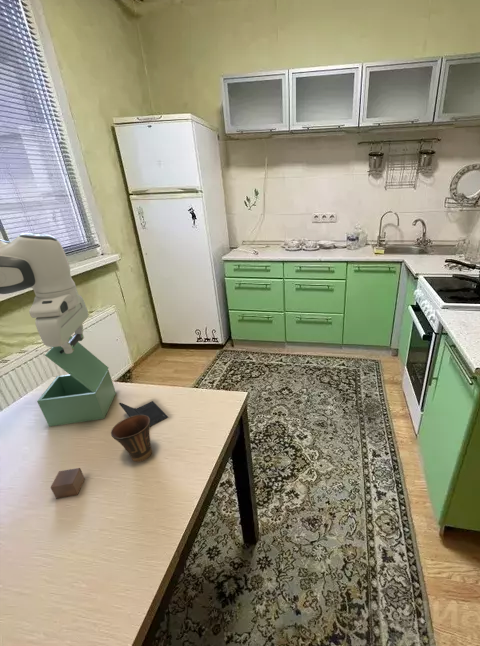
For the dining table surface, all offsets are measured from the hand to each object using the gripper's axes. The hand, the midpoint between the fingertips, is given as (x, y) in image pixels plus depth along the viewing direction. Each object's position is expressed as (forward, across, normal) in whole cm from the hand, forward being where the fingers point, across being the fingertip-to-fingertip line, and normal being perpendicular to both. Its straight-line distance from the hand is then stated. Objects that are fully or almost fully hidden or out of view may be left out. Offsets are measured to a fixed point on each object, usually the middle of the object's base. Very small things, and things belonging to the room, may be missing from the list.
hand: (75, 346), depth 89 cm
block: (+22, +30, +4) cm, 37 cm away
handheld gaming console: (+22, +8, +16) cm, 28 cm away
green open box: (+22, 0, -3) cm, 22 cm away
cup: (+22, +22, +17) cm, 35 cm away
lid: (+5, 0, -1) cm, 5 cm away
